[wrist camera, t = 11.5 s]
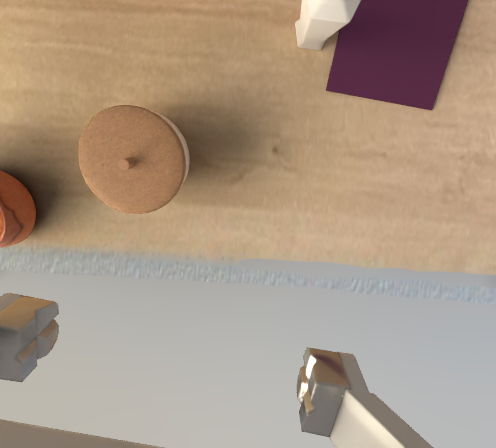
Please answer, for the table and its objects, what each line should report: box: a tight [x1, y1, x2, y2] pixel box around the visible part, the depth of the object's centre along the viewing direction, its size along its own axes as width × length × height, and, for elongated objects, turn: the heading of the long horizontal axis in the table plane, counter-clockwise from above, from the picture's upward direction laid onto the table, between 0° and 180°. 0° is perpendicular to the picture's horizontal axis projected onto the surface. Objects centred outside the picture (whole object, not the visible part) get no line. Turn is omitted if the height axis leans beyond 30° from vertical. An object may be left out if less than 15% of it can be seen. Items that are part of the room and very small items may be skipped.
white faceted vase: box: [295, 0, 361, 50], centre depth 28 cm, size 5×4×15 cm
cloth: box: [326, 0, 468, 110], centre depth 35 cm, size 12×11×1 cm
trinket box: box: [78, 105, 190, 214], centre depth 36 cm, size 11×11×9 cm
